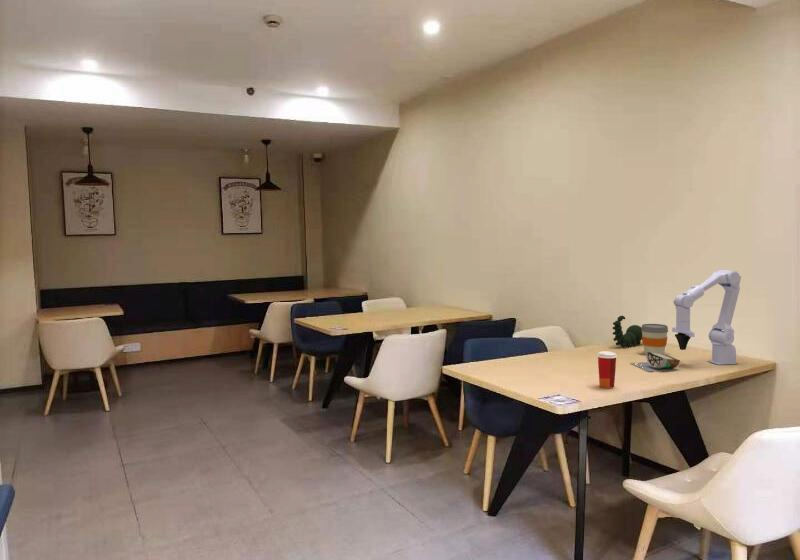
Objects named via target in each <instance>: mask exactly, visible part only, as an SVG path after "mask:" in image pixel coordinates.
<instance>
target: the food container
mask: <svg viewBox="0 0 800 560" xmlns="http://www.w3.org/2000/svg"><path fill="white" fill-rule="evenodd" d="M645 358H646V362H648V364H649V365H650V366H652V367H653V368H656V369H660V368H672V369H675V368H677V367H678V366H679V364H680V362H681V360H680V359H679V358H676V357H673V356H670V355H668V354H665V353H664V354H659V353H653V352H648V351H647V352H646V355H645Z"/></svg>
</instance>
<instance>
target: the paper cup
mask: <svg viewBox="0 0 800 560" xmlns="http://www.w3.org/2000/svg"><path fill="white" fill-rule="evenodd" d="M596 357H597V362H598V363H597V364H598V383H599V387H600V388H602V387H603V388H602V389H614V388H615V380H616V367H617V366H616V365H617V358H618V356H617V353H616V352H613V351H606V350H605V351H598V353H597V355H596ZM613 387H614V388H613Z"/></svg>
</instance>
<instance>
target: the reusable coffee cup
mask: <svg viewBox="0 0 800 560" xmlns="http://www.w3.org/2000/svg"><path fill="white" fill-rule="evenodd" d="M641 327H642V328H641V331H642V340H641V343H642V346H643V349H644V350H643V351H644V355H645V354H646V352H647V351H648V352H653V353H659V354H665V348H666V346H667V343H668V332H669V328H668V325H666V324H659V323H644V324H643V323H642V324H641Z"/></svg>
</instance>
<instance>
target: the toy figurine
mask: <svg viewBox="0 0 800 560" xmlns="http://www.w3.org/2000/svg"><path fill="white" fill-rule="evenodd" d="M623 320H626V316H624V315H620V316H618V317H617V319H616V320H615V321H613V322H612V324H613V327H612V330H614V331H613V332H612V335H615V336H614V337H613V342H615V345H616V346H618V347H619V346H620V347H627V348H629V347H630V348H631V347H632V346H634V347H635V346H637V345H636V344H638V345H640V344H641V343H642V331H641V328H642V326H640V325H638V324H632V325H630V326H628V327H627V329H626V331H625V333H624V332H623V330H622V329H623V326H622V323H621V322H622V321H623Z"/></svg>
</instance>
